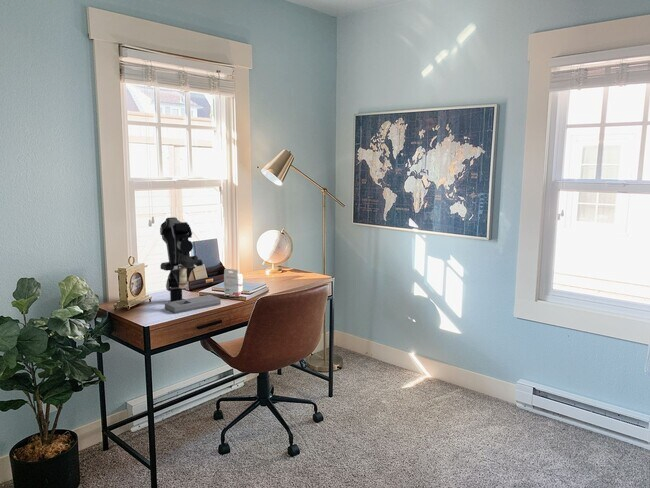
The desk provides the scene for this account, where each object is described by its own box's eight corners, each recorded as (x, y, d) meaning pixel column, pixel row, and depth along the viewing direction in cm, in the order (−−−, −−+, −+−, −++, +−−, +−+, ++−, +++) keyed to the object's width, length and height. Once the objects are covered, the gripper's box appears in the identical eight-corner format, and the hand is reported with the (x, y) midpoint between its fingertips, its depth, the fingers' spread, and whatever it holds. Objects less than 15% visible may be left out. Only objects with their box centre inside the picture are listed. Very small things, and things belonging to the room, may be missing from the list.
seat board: (164, 309, 247) (164, 303, 246) (210, 300, 263) (209, 294, 262) (174, 313, 239) (174, 307, 239) (220, 304, 255) (220, 298, 255)
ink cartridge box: (243, 296, 272) (243, 268, 270) (238, 298, 267) (237, 269, 265) (229, 294, 275) (228, 266, 273) (224, 296, 270) (223, 268, 268)
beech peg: (179, 286, 248) (179, 267, 247) (188, 286, 248) (187, 268, 247) (177, 288, 244) (176, 269, 243) (185, 288, 244) (185, 269, 243)
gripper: (170, 254, 231) (171, 288, 234) (208, 249, 244) (209, 282, 246) (159, 250, 239) (160, 284, 242) (196, 246, 252) (197, 278, 254)
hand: (182, 282), depth 246 cm, fingers closed on beech peg, 4 cm apart
